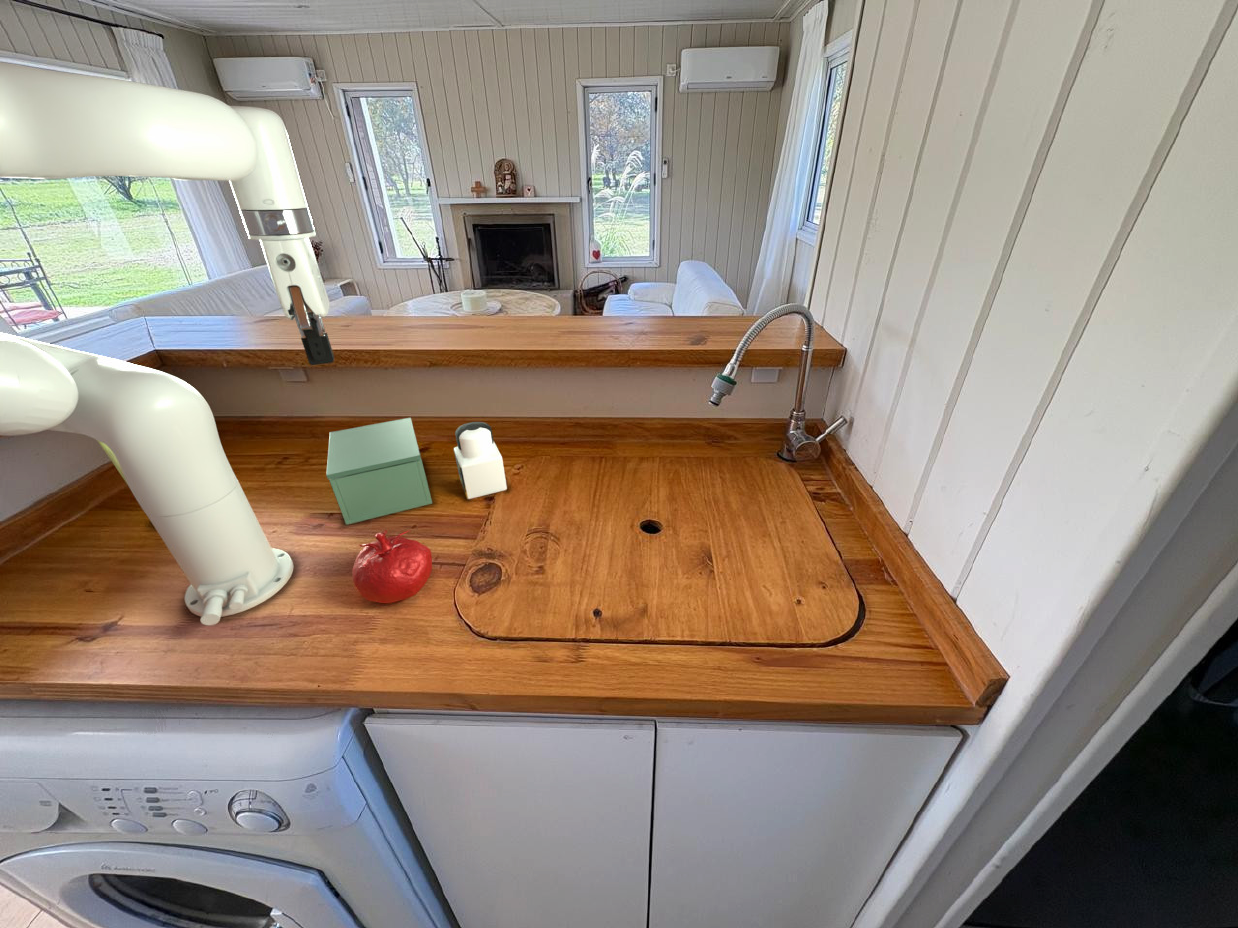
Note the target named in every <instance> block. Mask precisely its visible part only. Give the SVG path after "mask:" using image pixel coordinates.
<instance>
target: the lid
mask: <svg viewBox="0 0 1238 928" xmlns="http://www.w3.org/2000/svg"><path fill="white" fill-rule="evenodd" d="M420 459H421V460H422V456H421V452H420V448H419V445H418V440H417V437H416V433H415V429H414V425H413V421H412V418H411V417H406V418H399V419H394V420H389V421H385V422H379V423H374V424H367V425H363V426H362V425H361V426H357V427H353V428H352V427H351V428H347V429H340V430H335V431H330V432H329V439H328V450H327V464H326V478H327V479H326V480H330V479H333V478H337V477H342V476H346V475H351V474H356V473H360V472H365V471H370V470H374V469H379V468H383V467H388V466H393V465H397V464H402V463H407V462H411V461H416V460H420Z"/></svg>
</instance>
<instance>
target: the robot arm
mask: <svg viewBox="0 0 1238 928" xmlns="http://www.w3.org/2000/svg"><path fill="white" fill-rule="evenodd" d="M87 177H88V178H89V177H144V178H168V179H172V180H173V179H174V180H178V181H195V182H197V181H198V182H202V181H210V182H211V181H213V182H214V181H215V182H216V181H217V182H229V184H230V187H231V190H232V193H233V196H234V198H235V202H236V204H237V207H238V210H239V214H240V216H241V219H242V223H243V225H244V228H245V231H246V233H247V236H248V239H249V240H253V241H259V242H260V246H261V248H262V252H263V255H264V259H265V262H266V265H267V269H268V272H269V274H270V277H271V281H272V284H273V286H274V287H273V288H274V289H275V293H276V296H277V299H278V301H279V304H280V306H281V309H282V311H283V314H284V315H285V317H286V318H287V319H288V320H290V321H294V320H295V323H296V325H297V328H298V331H299V334H300V340H301V342H302V346H303V350H304V352H305V355H306V358H307V361H308V364H309V365H311V366H317V365H318V366H319V365H325V364H332V363H334V361H335V355H334V352H333V348H332V346H331V342H330V339H329V335H328V332H326V328H325V325H324V321H323V318H325V317H326V316H328V315H329V310H330V305H331V304H330V299H329V296H328V292H327V290H326V287H325V284H324V281H323V280H324V279H323V278H322V274H321V271H320V267H319V265H318V260H317V257H316V255H315V251H314V249H313V247H312V244H311V241H310V238H314V237H316V236H317V235H316V234H317V233H316V231H315V227H314V225H313V219H312V216H311V213H310V210H309V207H308V202H307V199H306V196H305V192H304V189H303V185H302V182H301V178H300V175H299V170H298V166H297V163H296V160H295V156H294V153H293V150H292V146H291V142H290V139H289V134H288V132H287V129H286V126H285V123H284V121H283V119H282V117H281V116H280V115H279V114H278V113H276V112H275V111H273V110H271V109H268V108H264V107H256V106H246V105H245V106H243V105H228V104H227V103H225V102H224V101H222V100H220V99H217V98H215V97H213V96H211V95H208V94H204V93H200V92H195V91H191V90H184V89H178V88H174V87H173V88H172V87H168V86H162V85H155V84H150V83H145V82H139V81H131V80H124V79H119V78H118V79H117V78H112V77H111V78H110V77H104V76H97V75H89V74H81V73H74V72H65V71H59V70H53V69H45V68H39V67H33V66H28V65H25V64H24V65H23V64H17V63H12V62H11V63H10V62H6V61H5V62H4V61H0V178H4V179H5V178H6V179H7V178H8V179H42V180H45V179H46V180H54V179H55V180H59V179H60V180H61V179H63V180H64V179H75V178H87ZM215 420H216V419H215V416H214V414H213V411H212V409H211V407H210V405H209V403H208V402H207V401H206V399H205V398H204V396H203V395H202V394H201V392H199V391H198V390H197V389H196V388H195V387H193V386H192V385H191V384H189V383H187V382H186V381H185V380H183V379H181V378H179V377H177V376H175V375H172V374H170V373H167V372H164V371H161V370H158V369H154V368H151V367H147V366H143V365H138V364H134V363H131V362H127V361H123V360H120V359H117V358H111V357H107V356H103V355H98V354H95V353H89V352H85V351H80V350H76V349H72V348H69V347H63V346H59V345H55V344H50V343H47V342H42V341H38V340H33V339H29V338H25V337H21V336H16V335H12V334H8V333H3V332H0V436H2V437H3V436H4V437H7V436H8V437H13V436H27V435H31V434H35V433H40V432H41V433H42V432H45V431H47V430H48V431H53V432H55V431H56V432H62V433H63V432H64V433H71V434H78V435H83V436H87V437H89V438H92V439H94V440H96V441H97V440H98V441H100V442H102V443H104V444H106V445H107V446H108V447H109V448H110V449H111V450H112V452H113V453H114V455H115V456H116V458H117V460H118V462H119V464H120V466H121V469H122V472H123V474H124V477H125V479H126V482H127V483H126V482H125V483H126V485H127V484H128V485H127V486H128V488H129V490H130V491H131V493H132V495H133V497H134V498H135V500H136V501H137V503H138V505H139V507H141V509H142V511H143V512H144V513H145V515H146V516H147V518H148V520H149V521H150V522H151V524H152V525H153V527H154V529H155V530H156V532H157V534H158V535H159V537H160V538H161V539H162V542H163V543H164V545H165V546H166V548H167V549H168V551H169V552H170V554H171V555H172V557H173V558H174V560H175V562H176V563H177V565H178V567H179V568H180V569H181V571H182V573H183V574H184V575H185V577H186V578H187V580H188V582H189V583H190V584H189V585H188V587H187V588H186V591H185V593H184V604H185V606H186V607H187V608H188V610H189V611H190V612H191V614H193V615H195V616H198V617H200V620H199V622H200V623H201V624H202V625H204V626H215V625H217V624H218V623H219V622H220V620H221V618H223V617H224V618H225V617H228V616H233V615H236V614H239V613H242V612H246V611H247V610H250V609H252V608H255V607H257V606H258V605H261V604H263V603H265V602H266V601H267V600H269V599H271V598H272V597H274V595H276V594H277V593H278V592H279V591H280V590H281V589H283V587H285V585H287V584H288V582H289V580H290V579H291V577H292V576H293V575H292V574H293V572H294V562H293V560H292V558H291V556H290V555H289V554H288V553H287V552H286V551H284V550H282V549H279V548H274V547H272V546H271V544H270V542H269V540H268V538H267V536H266V534H265V532H264V530H263V528H262V526H261V523H260V522H259V520H258V517H257V516H256V514H255V512H254V510H253V508H252V505H251V504H250V502H249V500H248V498H247V496H246V494H245V491H244V490H243V488H242V486H241V483H240V482H239V480H238V478H237V476H236V474H235V472H234V470H233V468H232V465H231V464H230V462H229V460H228V457H227V456H226V453H225V451H224V448H223V445H222V442H221V438H220V435H219V432H218V428H217V424H216V421H215ZM98 441H97V442H98Z"/></svg>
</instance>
